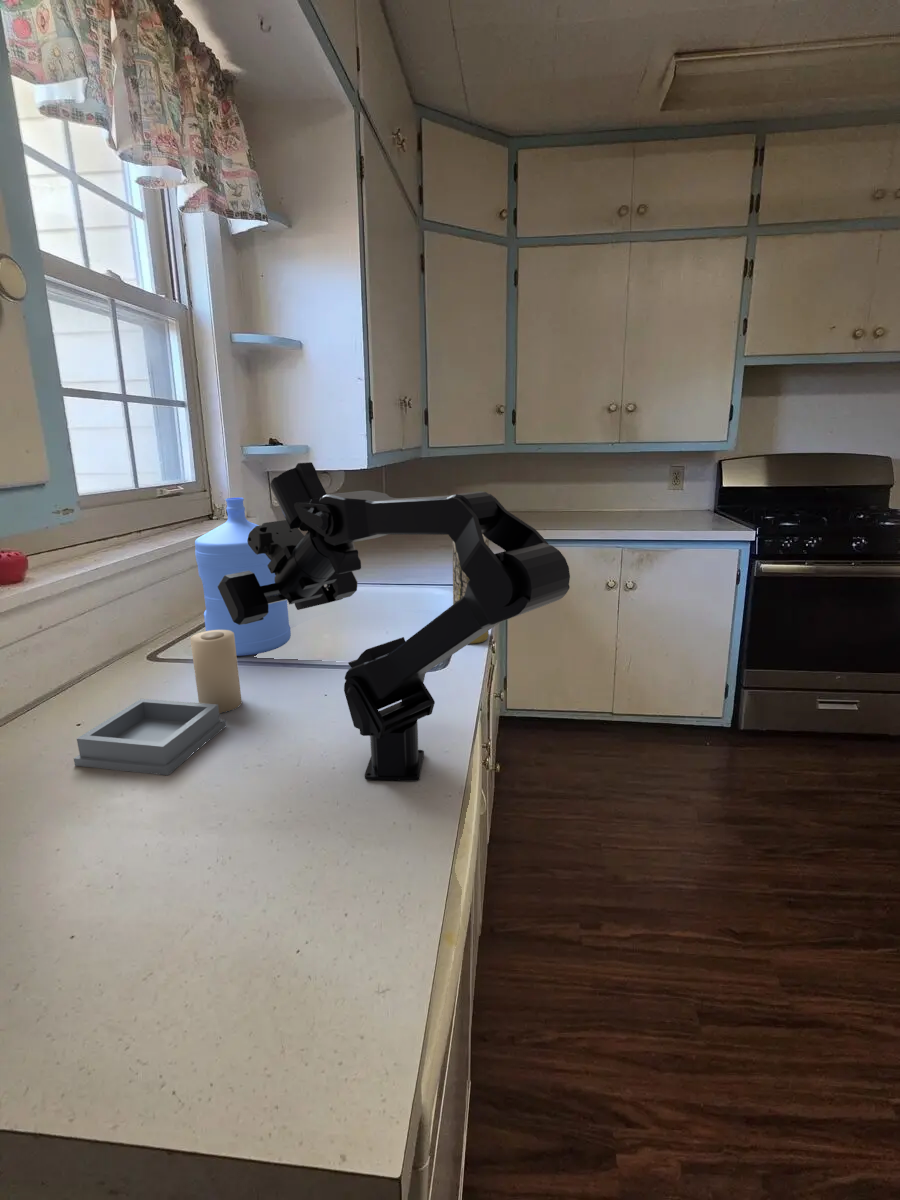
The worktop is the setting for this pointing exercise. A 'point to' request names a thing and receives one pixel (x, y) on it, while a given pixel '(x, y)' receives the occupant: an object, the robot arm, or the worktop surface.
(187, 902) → the worktop surface
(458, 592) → the paper tube
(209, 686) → the beige knobbed cylinder
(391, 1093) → the worktop surface
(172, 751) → the grey rimmed tray
